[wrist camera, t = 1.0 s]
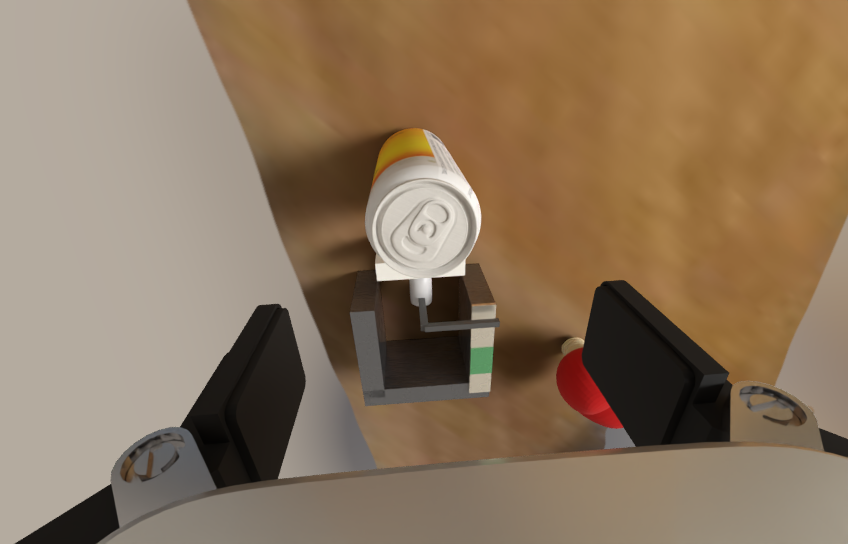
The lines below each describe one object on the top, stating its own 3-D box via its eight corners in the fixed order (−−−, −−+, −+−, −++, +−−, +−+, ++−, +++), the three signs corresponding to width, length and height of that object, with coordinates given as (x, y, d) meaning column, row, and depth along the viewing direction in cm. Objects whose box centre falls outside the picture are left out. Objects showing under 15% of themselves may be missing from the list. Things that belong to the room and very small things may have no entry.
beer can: (364, 174, 31) (340, 249, 18) (402, 111, 29) (406, 143, 16) (422, 211, 33) (439, 302, 20) (462, 154, 31) (510, 215, 18)
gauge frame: (357, 271, 36) (349, 315, 29) (478, 263, 36) (496, 305, 30) (370, 356, 41) (365, 409, 35) (475, 348, 42) (489, 399, 35)
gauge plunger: (378, 238, 33) (373, 280, 26) (482, 232, 34) (503, 272, 27) (383, 288, 36) (380, 338, 29) (480, 282, 36) (499, 330, 29)
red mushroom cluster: (520, 340, 41) (553, 412, 33) (569, 300, 39) (618, 366, 30) (570, 377, 45) (612, 451, 36) (617, 342, 43) (674, 412, 34)
